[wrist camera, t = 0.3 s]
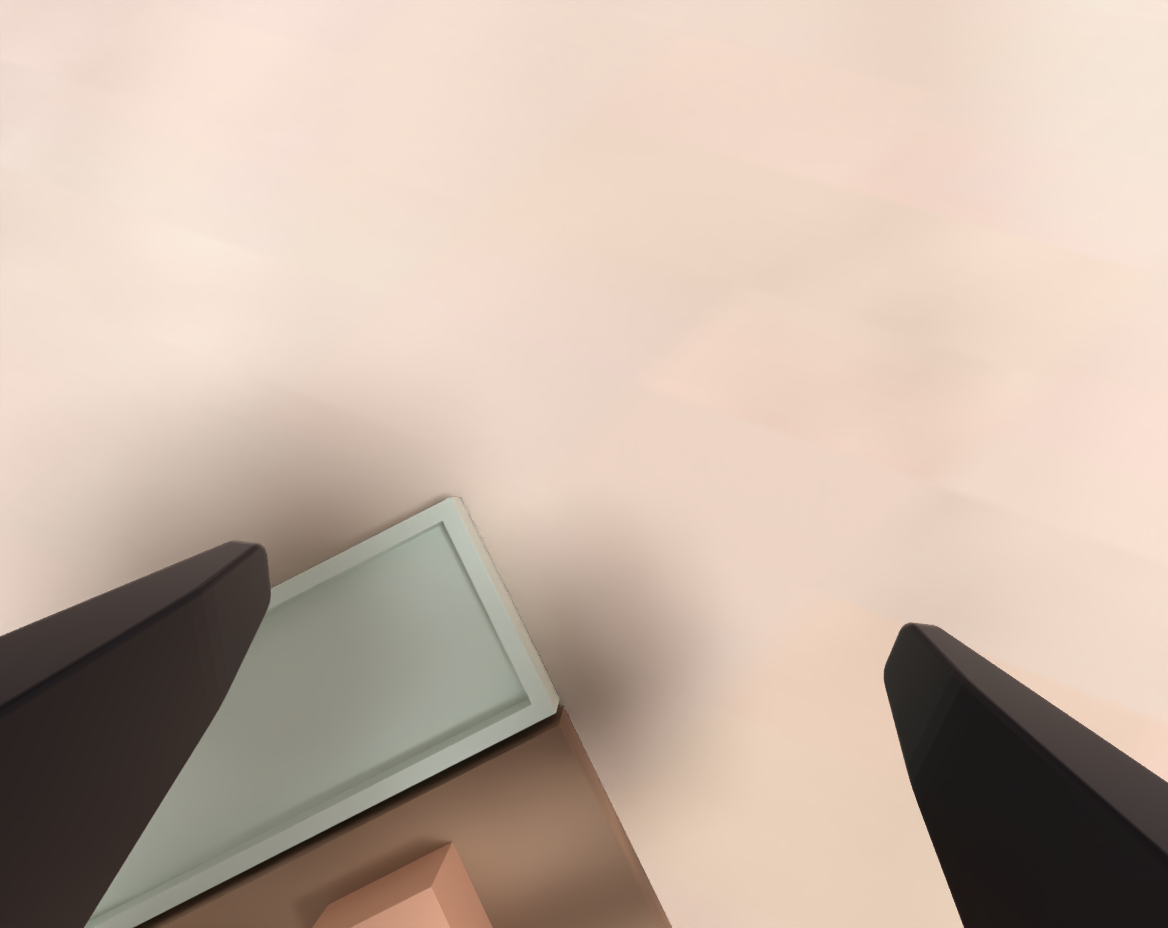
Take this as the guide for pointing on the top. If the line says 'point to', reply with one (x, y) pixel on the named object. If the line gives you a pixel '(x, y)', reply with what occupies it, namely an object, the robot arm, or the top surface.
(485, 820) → the walnut board
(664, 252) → the top surface
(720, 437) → the top surface
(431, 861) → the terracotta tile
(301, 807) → the green tray
